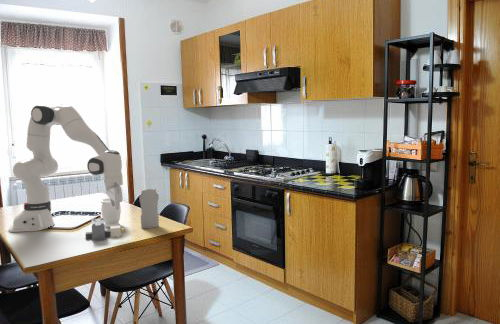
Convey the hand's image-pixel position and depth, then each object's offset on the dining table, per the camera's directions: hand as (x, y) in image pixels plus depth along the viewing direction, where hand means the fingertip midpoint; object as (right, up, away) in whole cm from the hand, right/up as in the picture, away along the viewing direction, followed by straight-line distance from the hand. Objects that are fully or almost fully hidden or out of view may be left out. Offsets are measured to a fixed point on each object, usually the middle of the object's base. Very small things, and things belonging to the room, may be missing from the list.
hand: (115, 207), depth 203 cm
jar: (-9, -13, +20) cm, 25 cm away
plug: (-5, -15, 0) cm, 16 cm away
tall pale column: (+14, -13, +16) cm, 25 cm away
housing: (-8, -15, -1) cm, 17 cm away
